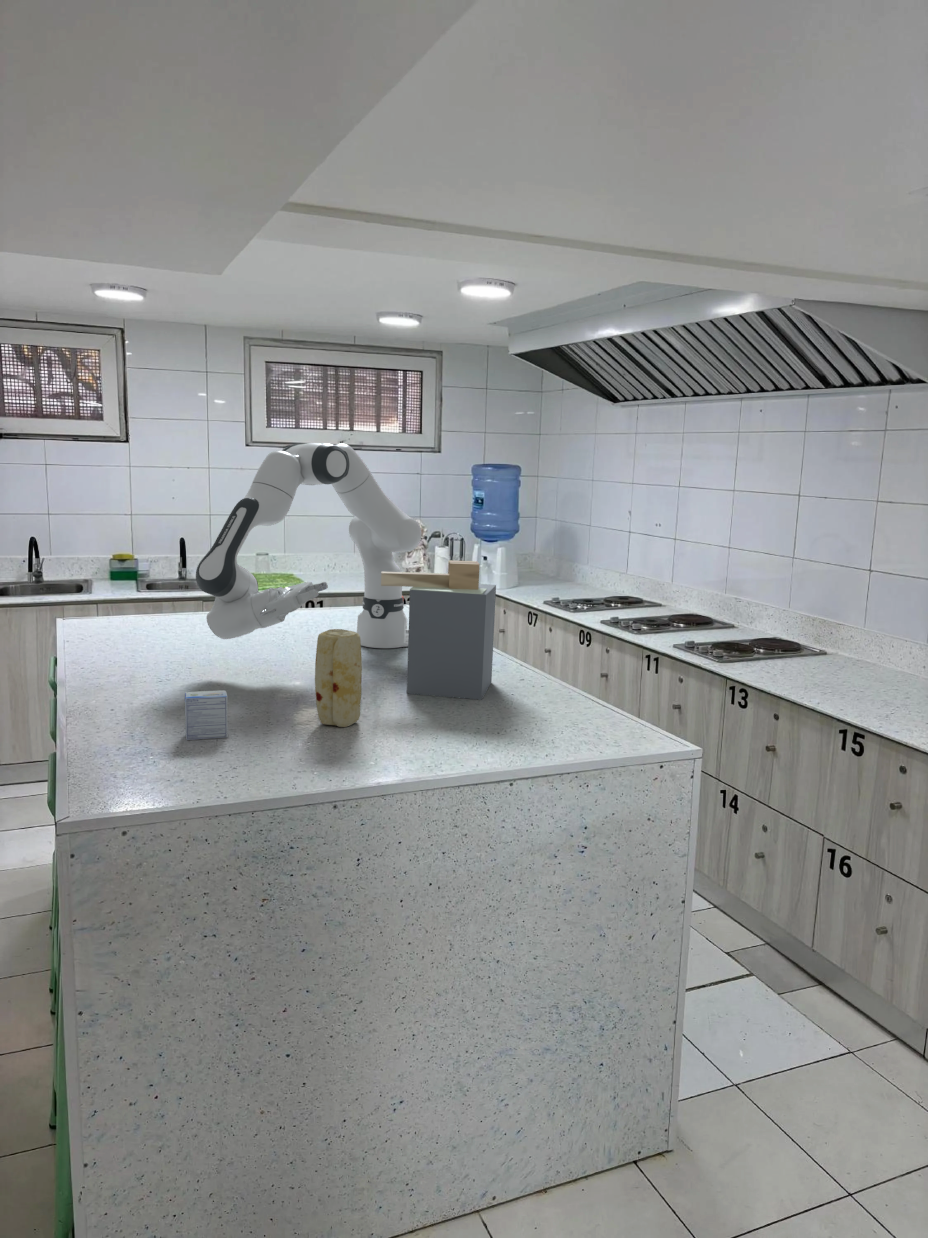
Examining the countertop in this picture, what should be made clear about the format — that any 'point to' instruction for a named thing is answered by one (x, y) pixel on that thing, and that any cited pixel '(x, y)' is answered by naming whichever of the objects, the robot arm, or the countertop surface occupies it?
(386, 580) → the mallet
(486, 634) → the stand
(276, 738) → the countertop surface
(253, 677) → the countertop surface
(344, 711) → the food model
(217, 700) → the medicine box
